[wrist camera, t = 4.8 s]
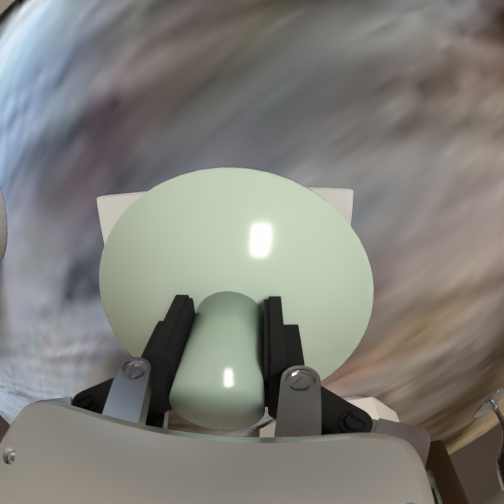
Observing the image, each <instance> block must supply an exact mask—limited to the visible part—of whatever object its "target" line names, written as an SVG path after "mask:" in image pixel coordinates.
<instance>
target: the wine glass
mask: <svg viewBox="0 0 504 504" xmlns="http://www.w3.org/2000/svg"><path fill="white" fill-rule="evenodd" d="M503 397H504V386H503V387H502V388H500V389H499V390H498V391H496V392H495V393H494V394H493V395H492V396H491V397H490V398H488V399H487V400H486V401H485V402H484V403H483V404H482V405H481V406H480V408H479V409H478V410H477V411H476V413H475V414H474V418H478V417H480V416H482V415H484V414H485V413H487V412H488V411H491V410H493V411H494V412H495V413H496V415H497V417H498V419H499V421H500V424H501V427H502V430H503V438H502V443H501V447H500V451H499V454H498V458H497V472H498V476H499V481H500V484H501V487H502V489H503V491H504V416H503V415H502V413H501V412H500V410H499V408H498V404H499V402H500V400H501V399H502V398H503Z"/></svg>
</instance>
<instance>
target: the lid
mask: <svg viewBox="0 0 504 504" xmlns="http://www.w3.org/2000/svg"><path fill="white" fill-rule="evenodd" d="M99 286H100V294H101V300H102V303H103V307H104V311H105V313H106V316H107V318H108V321H109V323H110V325H111V327H112V329H113V331H114V333H115V334H116V336H117V338H118V339H119V340H120V342H121V343H122V345H123V346H124V347H125V349H126V350H127V351H128V352H129V353H130V354H131V355H132V356H133V357H141V355H142V353H143V351H144V349H145V347H146V345H147V343H148V341H149V339H150V337H151V335H152V333H153V330H154V328H155V326H156V324H157V323H158V321H163V320H164V318H165V316H166V314H167V312H168V310H169V308H170V306H171V304H172V302H173V300H174V298H175V296H176V295H177V294H179V295H189V298H193V301H194V308H195V318H194V321H193V324H192V327H191V330H190V333H189V336H188V339H187V342H186V345H185V348H184V351H183V354H182V357H181V360H180V363H179V366H178V369H177V373H176V376H175V379H174V382H173V385H172V389H171V392H170V395H169V401H170V404H171V406H172V408H173V409H174V411H175V412H176V413H177V414H178V415H180V416H181V417H182V418H184V419H185V420H187V421H189V422H191V423H193V424H196V425H198V426H201V427H205V428H209V429H214V430H239V429H244V428H247V427H250V426H252V425H254V424H256V423H258V422H259V421H260V420H261V419H262V418H263V416H264V413H265V385H264V299H269V296H281V302H282V312H283V322H284V325H285V324H298V326H299V331H300V337H301V344H302V350H303V356H304V363H305V366H307V367H310V368H312V369H314V370H315V371H316V372H317V373H318V374H319V376H320V381H322V380H323V379H325V378H326V377H327V376H329V375H330V374H332V373H333V372H334V371H335V370H336V369H337V368H339V367H340V366H341V365H342V364H343V363H344V362H345V361H346V360H347V358H348V357H349V356H350V355H351V354H352V352H353V351H354V350H355V348H356V347H357V345H358V344H359V342H360V340H361V338H362V336H363V334H364V333H365V331H366V328H367V325H368V322H369V319H370V316H371V311H372V305H373V288H374V286H373V278H372V271H371V267H370V264H369V261H368V258H367V254H366V252H365V250H364V248H363V246H362V244H361V242H360V240H359V238H358V236H357V235H356V233H355V232H354V231H353V229H352V228H351V226H350V225H349V224H348V222H347V221H346V220H345V219H344V218H343V217H342V216H341V215H340V214H339V213H338V212H337V211H336V210H335V209H334V208H333V207H332V206H331V205H330V204H329V203H328V202H327V201H326V200H325V199H323V198H322V197H320V196H319V195H318V194H316V193H315V192H314V191H312V190H311V189H309V188H307V187H305V186H304V185H302V184H300V183H298V182H296V181H294V180H292V179H290V178H287V177H284V176H281V175H278V174H275V173H272V172H269V171H264V170H259V169H254V168H248V167H227V166H224V167H214V168H205V169H200V170H196V171H192V172H188V173H185V174H182V175H179V176H177V177H175V178H172V179H170V180H168V181H165V182H163V183H161V184H159V185H157V186H156V187H154V188H153V189H151V190H150V191H148V192H146V193H145V194H143V195H142V196H140V197H139V198H138V199H137V200H136V201H135V202H134V203H133V204H132V205H130V206H129V207H128V208H127V209H126V210H125V212H124V213H123V214H122V215H121V217H120V218H119V219H118V221H117V222H116V223H115V225H114V227H113V229H112V230H111V232H110V234H109V236H108V238H107V241H106V243H105V246H104V249H103V252H102V257H101V262H100V269H99Z"/></svg>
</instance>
